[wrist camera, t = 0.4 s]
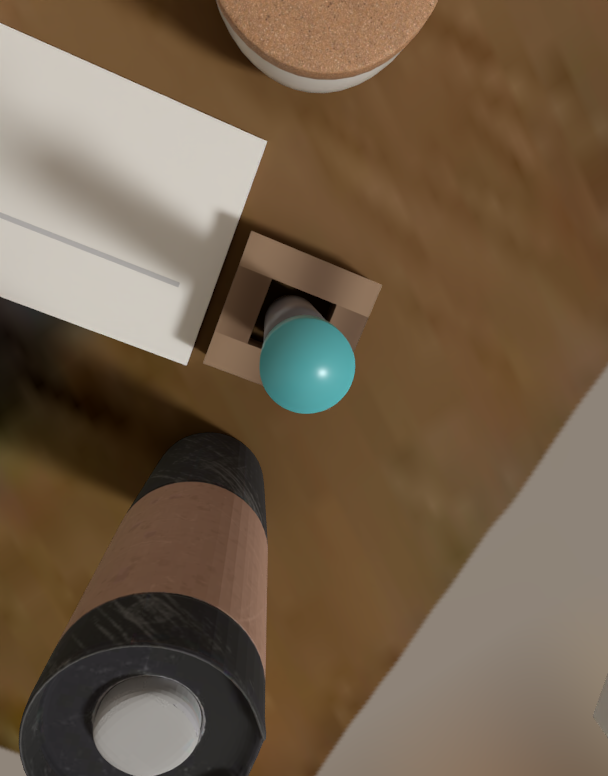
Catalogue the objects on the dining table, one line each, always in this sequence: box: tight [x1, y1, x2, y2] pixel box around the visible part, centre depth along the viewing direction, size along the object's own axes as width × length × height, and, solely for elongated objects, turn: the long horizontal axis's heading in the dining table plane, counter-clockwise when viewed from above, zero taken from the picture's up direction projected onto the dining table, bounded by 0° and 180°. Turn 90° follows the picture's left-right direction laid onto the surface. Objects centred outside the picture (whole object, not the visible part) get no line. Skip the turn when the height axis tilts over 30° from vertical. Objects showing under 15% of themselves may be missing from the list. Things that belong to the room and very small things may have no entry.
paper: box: [0, 23, 267, 365], centre depth 31 cm, size 20×14×1 cm
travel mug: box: [19, 432, 268, 776], centre depth 26 cm, size 8×8×20 cm
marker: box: [259, 295, 355, 414], centre depth 26 cm, size 3×3×15 cm
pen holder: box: [203, 231, 382, 410], centre depth 32 cm, size 8×8×2 cm
